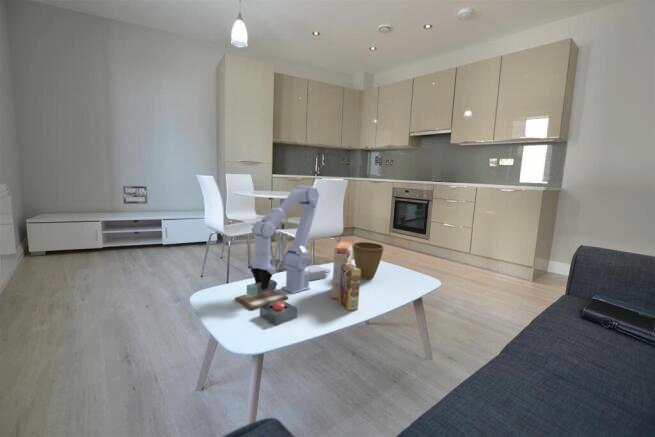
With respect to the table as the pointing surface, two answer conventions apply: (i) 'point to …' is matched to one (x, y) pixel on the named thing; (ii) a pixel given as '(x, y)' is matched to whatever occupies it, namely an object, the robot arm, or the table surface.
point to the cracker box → (340, 257)
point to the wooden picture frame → (260, 299)
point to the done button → (278, 306)
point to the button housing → (278, 313)
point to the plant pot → (367, 258)
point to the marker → (260, 288)
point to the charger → (317, 272)
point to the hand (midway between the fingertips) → (261, 287)
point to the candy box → (349, 286)
